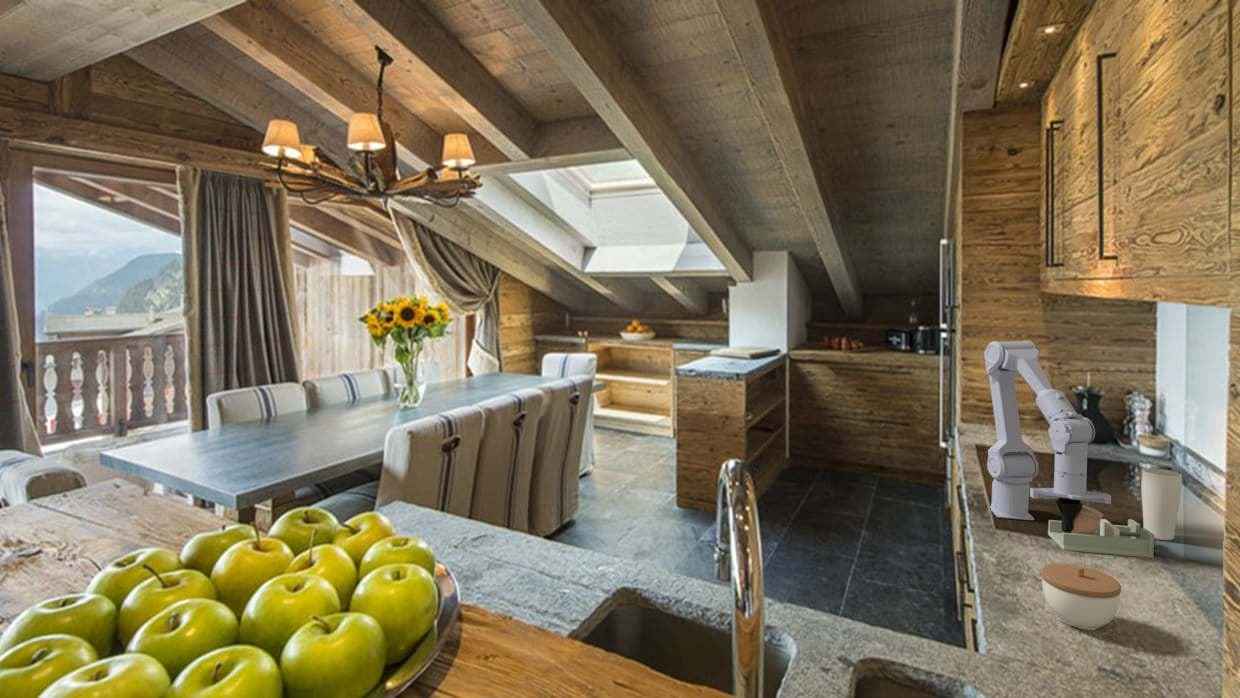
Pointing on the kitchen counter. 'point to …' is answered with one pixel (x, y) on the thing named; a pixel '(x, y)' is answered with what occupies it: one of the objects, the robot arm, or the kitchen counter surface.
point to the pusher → (1114, 530)
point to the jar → (1086, 521)
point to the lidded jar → (1080, 595)
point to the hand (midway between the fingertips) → (1068, 532)
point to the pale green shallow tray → (1105, 540)
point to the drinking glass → (1160, 501)
